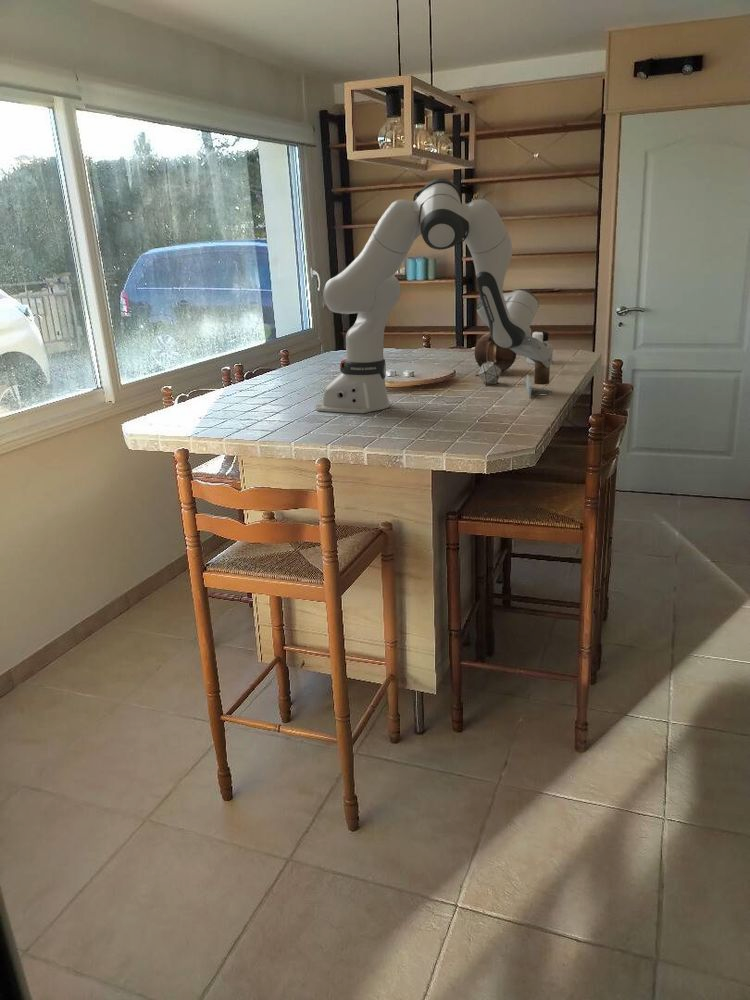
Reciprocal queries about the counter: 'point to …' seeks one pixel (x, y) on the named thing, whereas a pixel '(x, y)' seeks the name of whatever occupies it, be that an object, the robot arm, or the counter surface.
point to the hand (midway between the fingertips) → (544, 364)
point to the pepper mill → (541, 372)
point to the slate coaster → (540, 391)
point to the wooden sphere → (493, 353)
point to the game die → (489, 372)
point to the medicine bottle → (543, 338)
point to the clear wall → (528, 386)
